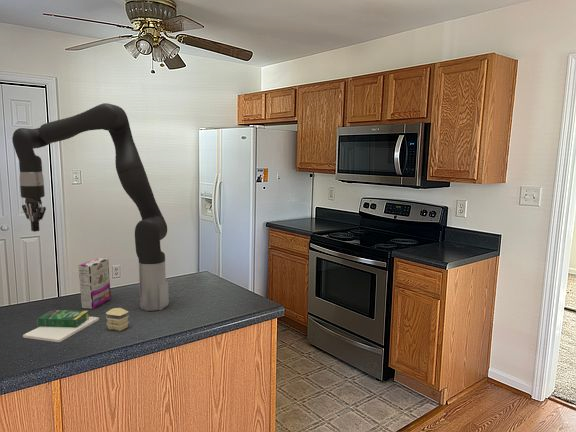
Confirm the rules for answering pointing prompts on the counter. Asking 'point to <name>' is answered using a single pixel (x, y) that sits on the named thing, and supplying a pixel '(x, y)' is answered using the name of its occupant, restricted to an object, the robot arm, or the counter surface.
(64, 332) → the cutting board
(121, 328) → the layered sandwich
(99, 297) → the candy bar box
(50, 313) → the coffee box
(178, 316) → the counter surface
